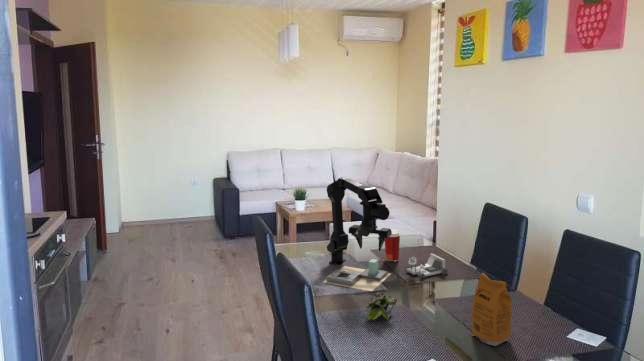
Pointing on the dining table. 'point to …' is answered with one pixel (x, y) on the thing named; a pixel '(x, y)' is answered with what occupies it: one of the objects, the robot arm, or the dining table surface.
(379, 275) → the gray square frame
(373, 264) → the plug
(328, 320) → the dining table surface
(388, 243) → the coffee cup
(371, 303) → the green leafy plant
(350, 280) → the port block
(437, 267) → the toy car
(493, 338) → the coffee package
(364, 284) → the patch board
